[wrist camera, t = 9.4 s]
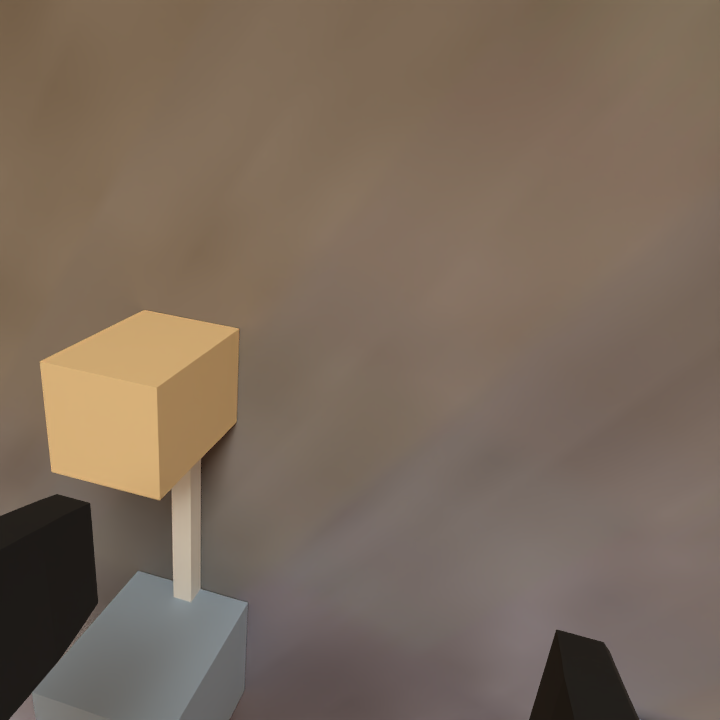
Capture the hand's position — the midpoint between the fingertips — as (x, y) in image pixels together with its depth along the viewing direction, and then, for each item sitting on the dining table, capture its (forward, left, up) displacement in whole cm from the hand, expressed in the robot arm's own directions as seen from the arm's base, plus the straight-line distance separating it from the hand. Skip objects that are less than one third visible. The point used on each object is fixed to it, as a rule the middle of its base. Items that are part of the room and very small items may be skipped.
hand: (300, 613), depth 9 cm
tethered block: (+7, +7, -9) cm, 14 cm away
